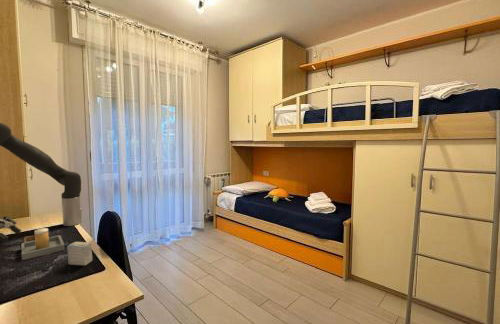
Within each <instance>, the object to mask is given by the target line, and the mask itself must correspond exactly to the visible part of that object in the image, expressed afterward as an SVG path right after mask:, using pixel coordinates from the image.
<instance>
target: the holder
mask: <svg viewBox="0 0 500 324" xmlns="http://www.w3.org/2000/svg"><path fill="white" fill-rule="evenodd" d="M30 241H35V234H34V235H29V236H24V237H23V243H25V242H30Z"/></svg>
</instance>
